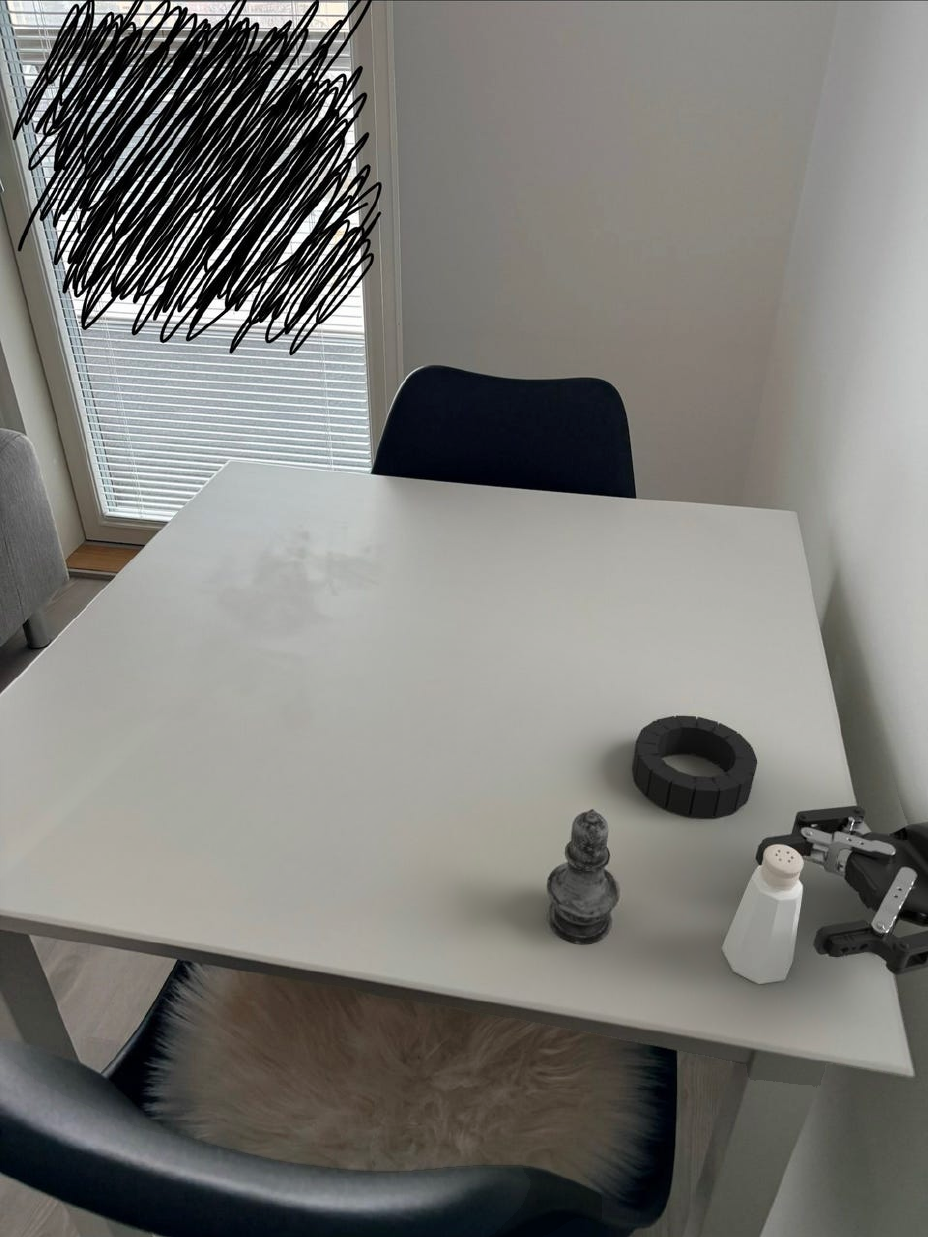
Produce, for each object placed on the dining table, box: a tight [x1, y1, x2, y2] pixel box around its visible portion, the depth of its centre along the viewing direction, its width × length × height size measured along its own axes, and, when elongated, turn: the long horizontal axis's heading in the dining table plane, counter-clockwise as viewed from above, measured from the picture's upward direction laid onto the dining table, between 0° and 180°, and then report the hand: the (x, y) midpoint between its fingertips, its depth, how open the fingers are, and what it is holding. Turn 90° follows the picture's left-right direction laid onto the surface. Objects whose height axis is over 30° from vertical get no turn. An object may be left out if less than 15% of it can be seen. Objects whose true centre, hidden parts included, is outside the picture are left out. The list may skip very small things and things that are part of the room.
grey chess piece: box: [546, 808, 621, 945], centre depth 69 cm, size 6×6×12 cm
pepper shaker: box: [721, 844, 805, 985], centre depth 67 cm, size 5×5×11 cm
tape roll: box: [631, 715, 758, 820], centre depth 87 cm, size 12×12×4 cm
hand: (786, 896), depth 66 cm, fingers open, 8 cm apart
